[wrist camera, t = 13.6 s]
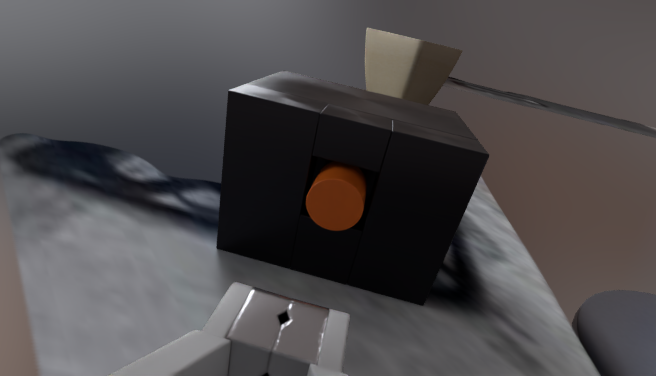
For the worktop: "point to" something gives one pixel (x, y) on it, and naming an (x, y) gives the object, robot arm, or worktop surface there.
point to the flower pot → (406, 66)
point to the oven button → (337, 196)
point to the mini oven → (356, 150)
